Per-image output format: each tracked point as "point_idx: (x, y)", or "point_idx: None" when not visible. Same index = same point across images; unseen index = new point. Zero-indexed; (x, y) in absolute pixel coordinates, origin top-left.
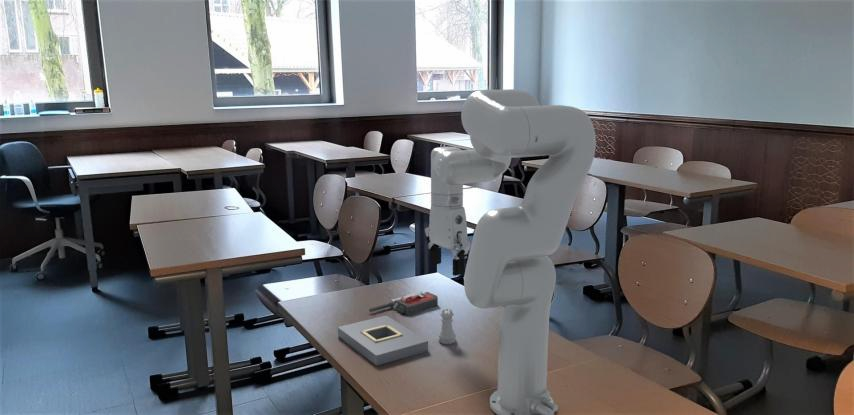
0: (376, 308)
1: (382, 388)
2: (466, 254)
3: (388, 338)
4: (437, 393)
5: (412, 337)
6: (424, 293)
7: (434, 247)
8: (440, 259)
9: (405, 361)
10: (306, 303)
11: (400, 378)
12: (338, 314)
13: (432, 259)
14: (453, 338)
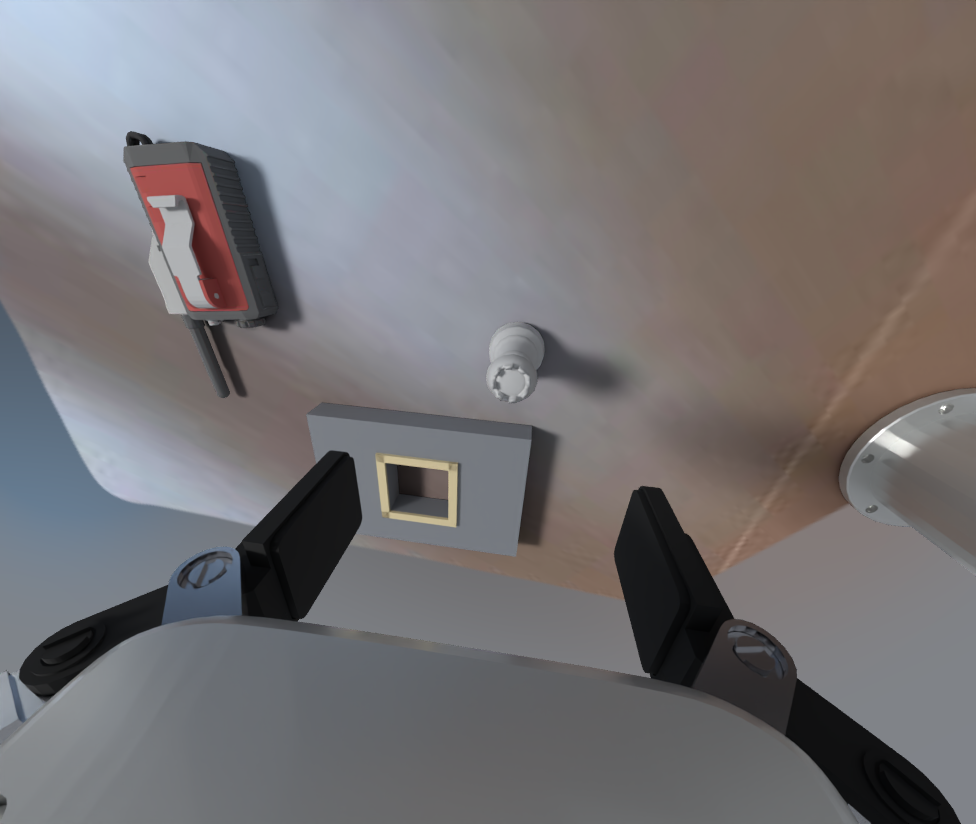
0: (218, 377)
1: (602, 576)
2: (862, 744)
3: (457, 499)
4: (705, 532)
5: (485, 454)
6: (170, 200)
7: (270, 617)
8: (339, 478)
9: (540, 491)
10: (120, 464)
11: (596, 539)
12: (213, 449)
13: (341, 544)
14: (543, 350)
